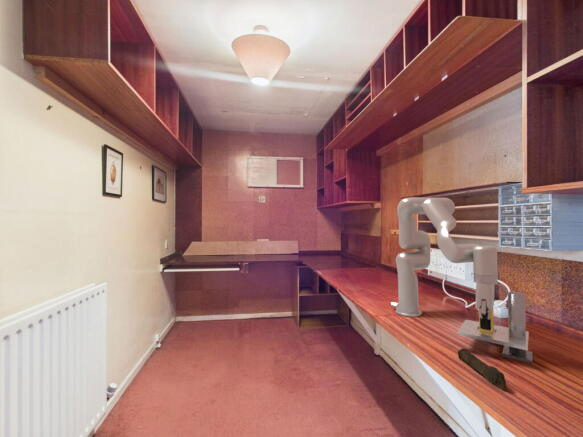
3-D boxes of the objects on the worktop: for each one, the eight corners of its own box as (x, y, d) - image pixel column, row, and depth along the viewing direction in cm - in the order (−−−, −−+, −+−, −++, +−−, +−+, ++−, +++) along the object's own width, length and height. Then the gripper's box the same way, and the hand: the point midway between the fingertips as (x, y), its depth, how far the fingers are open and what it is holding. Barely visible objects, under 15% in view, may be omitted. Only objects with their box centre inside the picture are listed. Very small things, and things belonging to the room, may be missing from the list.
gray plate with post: (457, 349, 105) (456, 290, 105) (466, 335, 117) (465, 282, 117) (532, 368, 91) (530, 300, 91) (532, 350, 103) (531, 290, 103)
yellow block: (479, 332, 105) (479, 308, 105) (481, 328, 108) (480, 305, 108) (492, 334, 103) (492, 310, 103) (493, 331, 106) (493, 307, 106)
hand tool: (457, 359, 98) (457, 346, 98) (468, 359, 98) (468, 346, 98) (494, 392, 79) (494, 376, 79) (509, 392, 79) (509, 376, 79)
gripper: (477, 274, 114) (478, 319, 114) (469, 281, 102) (470, 331, 102) (500, 276, 109) (501, 323, 109) (495, 284, 97) (496, 337, 97)
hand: (486, 326), depth 105 cm, fingers closed on yellow block, 3 cm apart
